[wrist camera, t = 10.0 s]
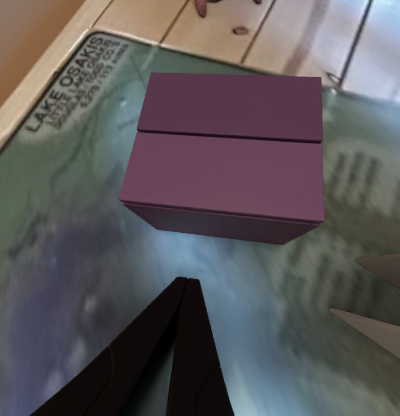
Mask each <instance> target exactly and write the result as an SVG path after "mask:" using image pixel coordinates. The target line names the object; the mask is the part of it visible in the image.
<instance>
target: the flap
mask: <svg viewBox="0 0 400 416" xmlns="http://www.w3.org/2000/svg"><path fill="white" fill-rule="evenodd" d="M119 200H120V201H121V202H130V203H139V204H149V205H158V206H168V207H177V208H186V209H196V210H205V211H214V212H224V213H233V214H243V215H252V216H261V217H271V218H280V219H289V220H299V221H308V222H318V223H323V222H325V211H324V185H323V159H322V144H312V143H297V142H281V141H265V140H250V139H234V138H218V137H202V136H187V135H171V134H155V133H140V132H137V134H136V137H135V141H134V145H133V148H132V152H131V156H130V159H129V163H128V167H127V170H126V174H125V178H124V181H123V185H122V189H121V192H120V196H119Z"/></svg>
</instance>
